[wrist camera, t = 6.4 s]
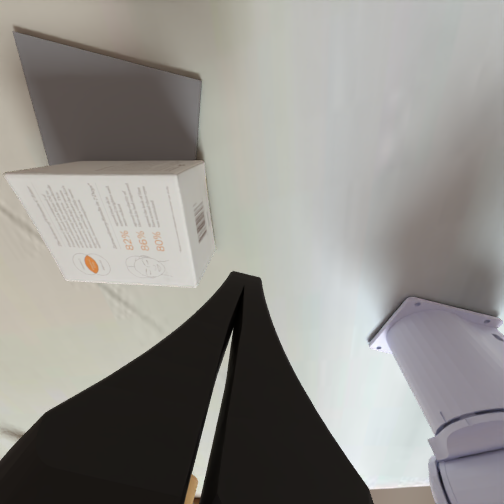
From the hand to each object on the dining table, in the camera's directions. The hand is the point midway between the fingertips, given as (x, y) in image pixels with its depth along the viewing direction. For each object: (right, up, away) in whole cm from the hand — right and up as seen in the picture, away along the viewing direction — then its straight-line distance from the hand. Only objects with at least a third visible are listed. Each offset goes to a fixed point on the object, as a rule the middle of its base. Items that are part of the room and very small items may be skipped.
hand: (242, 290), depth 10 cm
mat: (-10, +8, +8) cm, 15 cm away
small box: (-3, +4, +6) cm, 7 cm away
